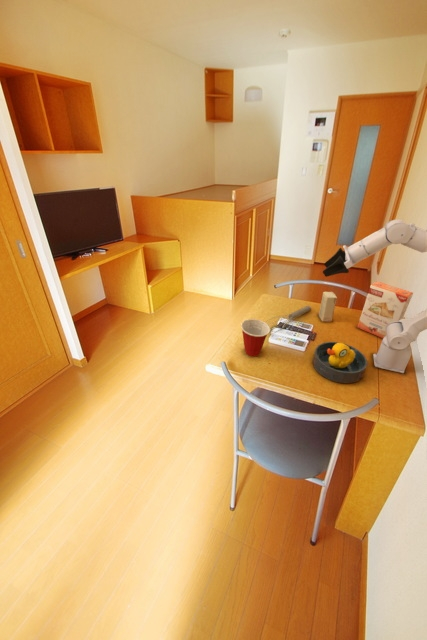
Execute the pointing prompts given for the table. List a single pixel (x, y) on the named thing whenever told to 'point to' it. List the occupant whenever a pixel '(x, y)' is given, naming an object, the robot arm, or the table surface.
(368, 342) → the table surface
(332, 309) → the cosmetic box
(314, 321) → the table surface
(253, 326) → the plastic cup
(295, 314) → the kitchen whisk
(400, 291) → the cracker box
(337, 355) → the duckling
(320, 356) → the bowl
